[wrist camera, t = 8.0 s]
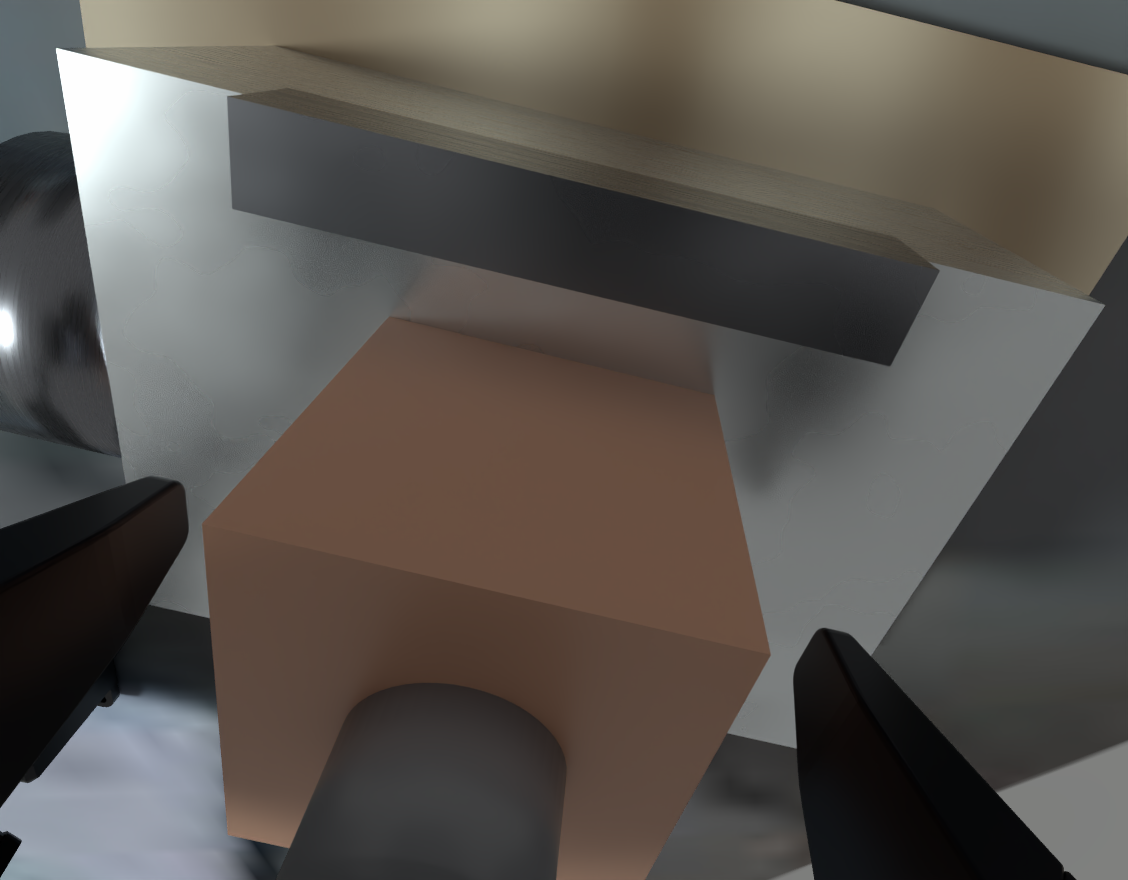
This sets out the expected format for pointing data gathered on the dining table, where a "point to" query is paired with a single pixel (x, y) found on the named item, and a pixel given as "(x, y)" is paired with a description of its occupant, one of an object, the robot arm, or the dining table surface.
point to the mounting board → (746, 94)
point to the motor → (511, 304)
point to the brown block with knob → (479, 617)
